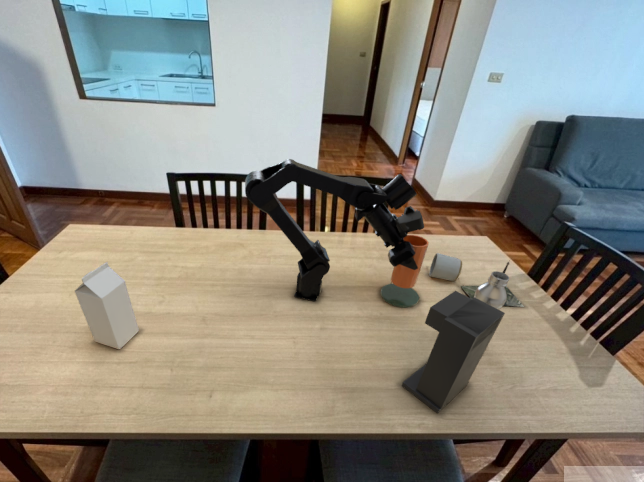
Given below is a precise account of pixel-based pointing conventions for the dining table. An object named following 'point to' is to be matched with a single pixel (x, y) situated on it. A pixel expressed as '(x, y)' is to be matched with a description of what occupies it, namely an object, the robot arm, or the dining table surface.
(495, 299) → the silver metal bottle
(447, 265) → the ceramic mug
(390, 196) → the robot arm
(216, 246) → the dining table surface
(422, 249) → the orange cup
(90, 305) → the milk carton
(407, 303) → the saucer
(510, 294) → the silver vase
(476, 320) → the coffee maker
